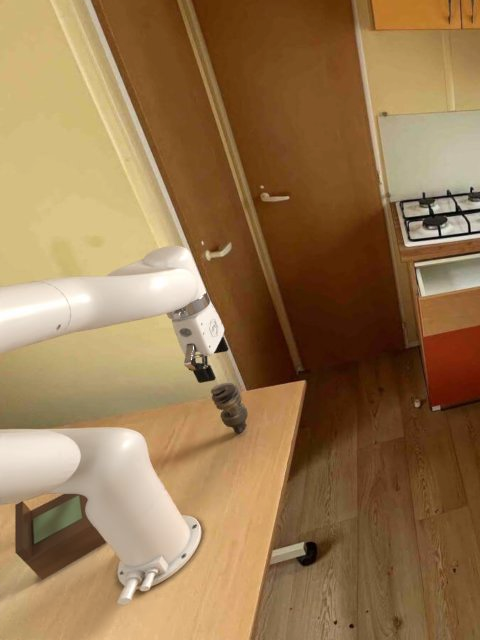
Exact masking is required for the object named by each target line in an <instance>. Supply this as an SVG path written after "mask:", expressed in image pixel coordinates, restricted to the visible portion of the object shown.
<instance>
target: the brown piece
mask: <svg viewBox="0 0 480 640" xmlns="http://www.w3.org/2000/svg"><path fill="white" fill-rule="evenodd" d="M87 501H88V499H87V497H85V496H83V495H80V494H60V495H59V496H57V497H55V498H53V499H51V500H49V501H47V502H45V503H43V504H41V505H39V506H37V507H35V508H33V509H32V510H31V508H29V507H28V505H27V504H26V503H25V501H22V502H18V503H15V505H14V511H15V512H14V513H15V514H14V524H15V526H14V527H15V531H14V533H15V535H14V536H15V537H14V541H15V543H14V547H15V548H14V549H15V552H14V553H15V554H16V555H17V556H18V557H19V558H20V559H21V560H22V561H23V562H24V563H25V564H26V565H27V566H28V567H29V568H30V569H31V570H32V572H34V574H36V576H37V577H39V578H40V579H41V580H42V581H43V580H45V579H47V578H48V577H50V576H52V575H53V574H55V573H57V572H59V571H60V570H62V569H64V568H65V567H67V566H69V565H70V564H72V563H74V562H75V561H77V560H79V559H80V558H82V557H84V556H86V555H87V554H89V553H91V552H93V551H94V550H96V549H98V548H99V547H101V546H103V545H105V544H107V542H106V541H105V540H104V538H103V537H102V536H101V534H100V533H99V532H98V531H97V529H96V528H95V527H94V526H93V525H92V524H91V522H90V521H89V519H88V518H87V516H86V512H85V507H86V503H87Z"/></svg>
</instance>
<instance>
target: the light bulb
mask: <svg viewBox="0 0 480 640" xmlns="http://www.w3.org/2000/svg"><path fill="white" fill-rule="evenodd" d="M210 393H211V400H212V402H213V403H214V405H215V406H216V407H215V408H216V409H217V410H221V413H220V419H221V421H222V423H223V424H224V425H225V426H226V427H228V428H232V429H233V433H234V434H242V433H243V432H244V431H245V430H246V428H247V423H246V420H247V419H248V415H249V414H248V413H249V412H248V410H247V407H246V405H245V404H244V403H242V401H243V396H242V395H241V390H240V388H239V386H238V385H237V384H236V383H233V382H222V383H219V384H216V385H215V386H213V387H212V388H211V390H210Z"/></svg>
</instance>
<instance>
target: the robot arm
mask: <svg viewBox="0 0 480 640" xmlns="http://www.w3.org/2000/svg"><path fill="white" fill-rule="evenodd" d="M165 314H166V315H167V318H168V319H169V320H171V323H172V327H173V330H174V334H175V336H176V340H177V342H178V344H179V346H180V349H181V352H182V353H183V354H184V356H185V357H184V362H183V365H184V367H186V368H187V369H188V371H190V372H193V375H194V377H195V379H196V381H197V382H198V383H199V384H202V383H203V384H204V383H208V382H213V381H215V380H216V378H217V377H216V375H215V373H214V370H213V369H212V366H211V364H208V361H209V360H208V357H210V356H211V357H212V355H214V354H220V353H226V352H228V351H229V347H228V344H227V342H226V339H225V337H224V334H225V327H224V324H223V322H222V320H221V318H220V315H219V314H218V312H217V310H216V308H215V306H214V305H213V303H212V301H211V300H210V297H209V294H208V293H207V290H206V287H205V286H204V283H203V281H202V278H201V276H200V273H199V271H198V267H197V266H196V263H195V261H194V258H193V256H192V253H191V252H190V250H189V249H188V248H186V247H184V246H181V245H169V246H168V245H167V246H163V247H159V248H157V249H154V250H152V251H150V252H147V254H146V255H145V256H144V257H143V258H141V259H139V260H136V261H135V262H132V263H129V264H127V265H124V266H122V267H119V268H116V269H115V270H113V271H111V272H110V273H108V274H107V275H103V276H101V275H100V276H99V275H95V276H94V275H92V276H91V275H87V276H86V275H85V276H84V275H82V276H81V275H80V276H79V275H78V276H63V277H62V276H61V277H52V278H46V279H40V280H34V281H29V282H23V283H22V282H21V283H15V284H10V285H4V286H0V355H1V354H5V353H7V352H12V351H14V350H19V349H22V348H24V347H29V346H31V345H32V346H33V345H35V344H38V343H41V342H45V341H48V340H49V341H50V340H52V339H56V338H59V337H64V336H67V335H69V334H70V335H71V334H74V333H79V332H85V331H91V330H97V329H98V330H99V329H102V328H106V327H111V326H117V325H120V324H121V325H122V324H126V323H131V322H137V321H141V320H145V319H151V318H155V317H158V316H162V315H165ZM196 353H199V354H196ZM199 358H201V362H197V360H196V359H199ZM63 494H80V495H83V496H85V497H87V499H88V501H87V503H86V507H85V512H86V516H87V518H88V519H89V521H90V522H91V524H92V525H93V526H94V527H95V528H96V529H97V531H98V532H99V533H100V534H101V536H102V537H103V538H104V540H105V541H106V544H107V545H108V546H109V547H110V549H111V550H112V551H113V552H114V553H115V555H116V556H117V557H118V559H119V562H118V567H117V574H116V575H117V578H118V581H119V582H120V583H121V585H123V586H124V587H123V588H122V590H121V592H120V595H119V596H118V599H117V600H116V603H117V605H119V606H126V605H129V604H131V602H132V601H133V599H134V597H135V595H136V592H137V590H139V591H141V592H149V590H150V589H151V588H152V587H154V586H156V585H158V584H160V583H162V582H164V581H165V580H167V579H169V578H170V577H171V576H173V575H174V574H176V573H177V572H178V571H179V570H180V569H182V567H183V566H185V565H186V564H187V563H188V561H189V560H190V559H191V558H192V556H193V555H194V553H195V552H196V550H197V549H198V546H199V544H200V541H201V539H202V527H201V525H200V522H199V521H198V520H197V519H196V518H195V517H193V516H191V515H187V514H182V513H181V512H180V511H179V509H178V508H177V506H176V504H175V502H174V501H173V499H172V497H171V495H170V494H169V492H168V491H167V489H166V487H165V485H164V484H163V482H162V481H161V479H160V478H159V476H158V474H157V472H156V471H155V469H154V467H153V465H152V462H151V458H150V454H149V449H148V444H147V441H146V439H145V437H144V436H143V434H141V432H138V431H136V430H134V429H131V428H127V427H117V426H100V427H97V426H96V427H73V428H69V427H68V428H41V429H39V428H37V429H36V428H2V429H1V428H0V506H4V505H5V506H6V505H12V504H18V503H20V502H22V501H23V502H26V501H30V500H33V499H35V498H38V497H41V496H43V495H63Z"/></svg>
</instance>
